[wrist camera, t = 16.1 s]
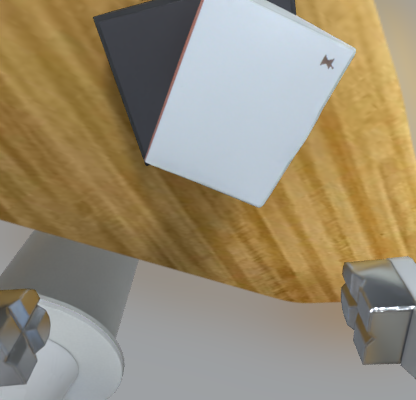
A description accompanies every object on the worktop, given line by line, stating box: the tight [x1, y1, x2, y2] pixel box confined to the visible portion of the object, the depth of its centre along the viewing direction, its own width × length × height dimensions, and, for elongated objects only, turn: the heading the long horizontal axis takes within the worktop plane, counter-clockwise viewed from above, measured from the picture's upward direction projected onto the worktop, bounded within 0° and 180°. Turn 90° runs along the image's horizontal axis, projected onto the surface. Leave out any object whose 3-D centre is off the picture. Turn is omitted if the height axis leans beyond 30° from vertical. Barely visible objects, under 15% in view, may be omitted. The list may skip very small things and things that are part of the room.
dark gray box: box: [93, 0, 296, 166], centre depth 29 cm, size 14×12×5 cm
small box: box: [144, 0, 356, 208], centre depth 21 cm, size 8×6×13 cm
